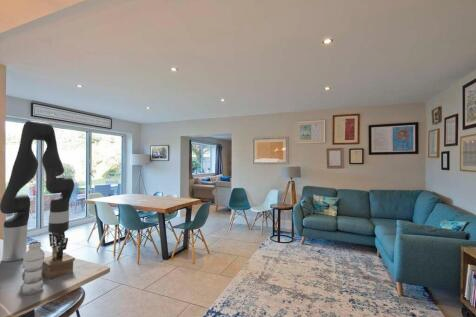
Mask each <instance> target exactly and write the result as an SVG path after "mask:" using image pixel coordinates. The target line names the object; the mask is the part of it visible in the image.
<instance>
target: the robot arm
mask: <svg viewBox="0 0 476 317" xmlns="http://www.w3.org/2000/svg"><path fill="white" fill-rule="evenodd" d="M34 141H44V142H45V144H46V148H45V151H44V152H43V154H42V157H41V164H42V166H43V169H44V172H45V189H46V191H48V193H49V194H60V195H59V196H57V197H54V198H52V199H51V200H50V203H49V215H48V227H47V228H48V229H47V230H48V232H49V234H48V239H49V246H50V247H51V250H52V254H51V256H53V248H54V247H57V258H56V259H61V258H63V253H64V250H67V246H68V242H69V238H68V237H66V234H65V232H66V231H69V227H70V226H69V225H70V210H69V209H70V200H71V198H72V195H73V192H74V189H75V181H74V180H73V178H72V177H59V176H61V175H63V174H64V173H65V168H64V166H63V163H62V160H61V158H60V154H59V149H58V144H57V138H56V133H55V128H54V127H53V125H52V123H51V124H50V123H49V122H44V121H43V122H42V121H36V120H27V121H25V123H24V125H23V127H22V130H21V136H20V142H19V147H18V151H17V154H16V157H15V160H14V161H13V162H14V163H13V166H12V168H11V171H10V172H11V173H10V177H9V180H8V183H7V185H6V188H5V190H4V193H3V195H2V197H1V200H0V212H1V213H2V214H3V215H8V214H10V215H11V214H15V215H14V216H12V217H10V218H8V219H6V220H5V221H4V223H3V231H2V232H3V233H2V234H3V236H2V257H1V261H2V262H6V263H9V262H16V261H19V260H20V261H21V260H23V257H24V255H25V254H26V252H27V251H28V250H27V249H28V225H29V223H28V222H29V217H30V209H31V198H30V196H29V195H28V194H18V193H19V192H20V190H22V188H24V187H25V186H26V185H27V184H28V183H30V182H31V181H32V180H33V179H34V178H35V177H36V175H37V171H38V168H39V160H38V159H37V157H36V155H35V154H34V151H33V148H32V147H33V146H32V145H33V142H34Z"/></svg>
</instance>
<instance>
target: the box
mask: <svg viewBox="0 0 476 317" xmlns="http://www.w3.org/2000/svg"><path fill="white" fill-rule="evenodd" d="M73 272H74V261H71V262H68V263H65V264H62V265H58V266H55V267H52V268H49V267H47V266H45V265H44V264H43V267H42V276H44V277H45V278H47V279H48V280H52V279H55V278H56V279H57V278H59V277H61V276H64V275H68V274H70V273H73Z"/></svg>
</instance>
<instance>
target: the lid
mask: <svg viewBox="0 0 476 317" xmlns="http://www.w3.org/2000/svg"><path fill="white" fill-rule="evenodd" d="M52 250H53V256H52V255H49V256H46V257H45V256H44V260H43V264H44V265H45V266H47V267H49V268H52V267H55V266H58V265H62V264H65V263H68V262H71V261H73V262H74V261H76V257H74V256H72V255H70V254H68V253H66V252H63V258H61V259H56V258H57V247H54V248H53V249H52Z"/></svg>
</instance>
